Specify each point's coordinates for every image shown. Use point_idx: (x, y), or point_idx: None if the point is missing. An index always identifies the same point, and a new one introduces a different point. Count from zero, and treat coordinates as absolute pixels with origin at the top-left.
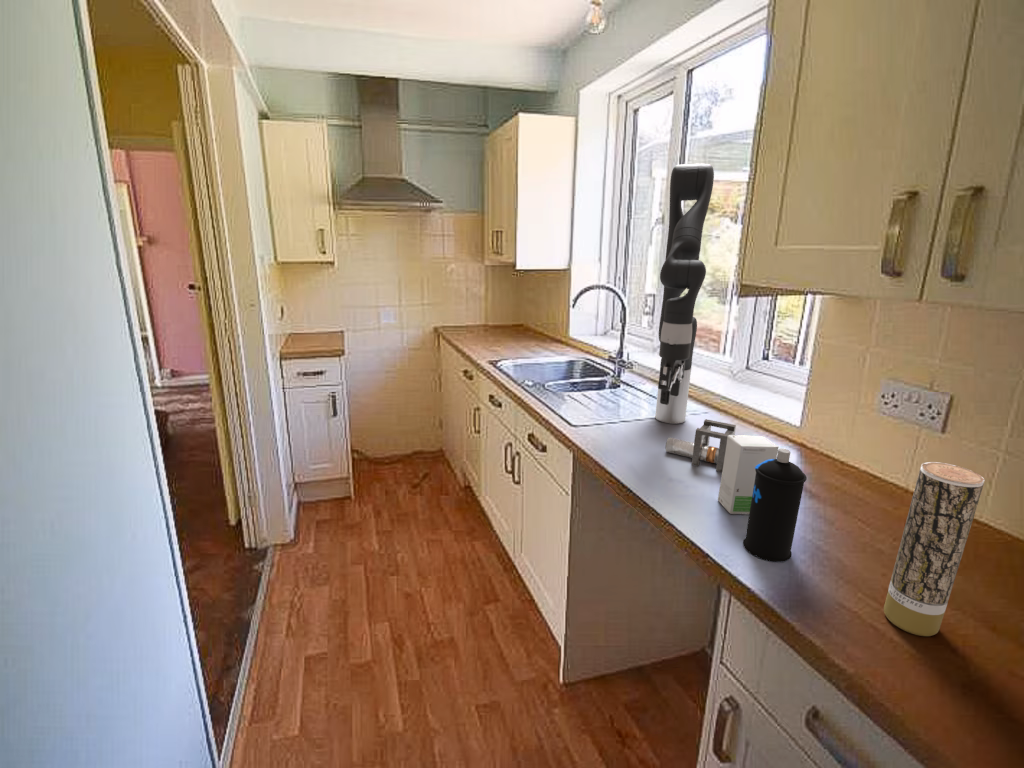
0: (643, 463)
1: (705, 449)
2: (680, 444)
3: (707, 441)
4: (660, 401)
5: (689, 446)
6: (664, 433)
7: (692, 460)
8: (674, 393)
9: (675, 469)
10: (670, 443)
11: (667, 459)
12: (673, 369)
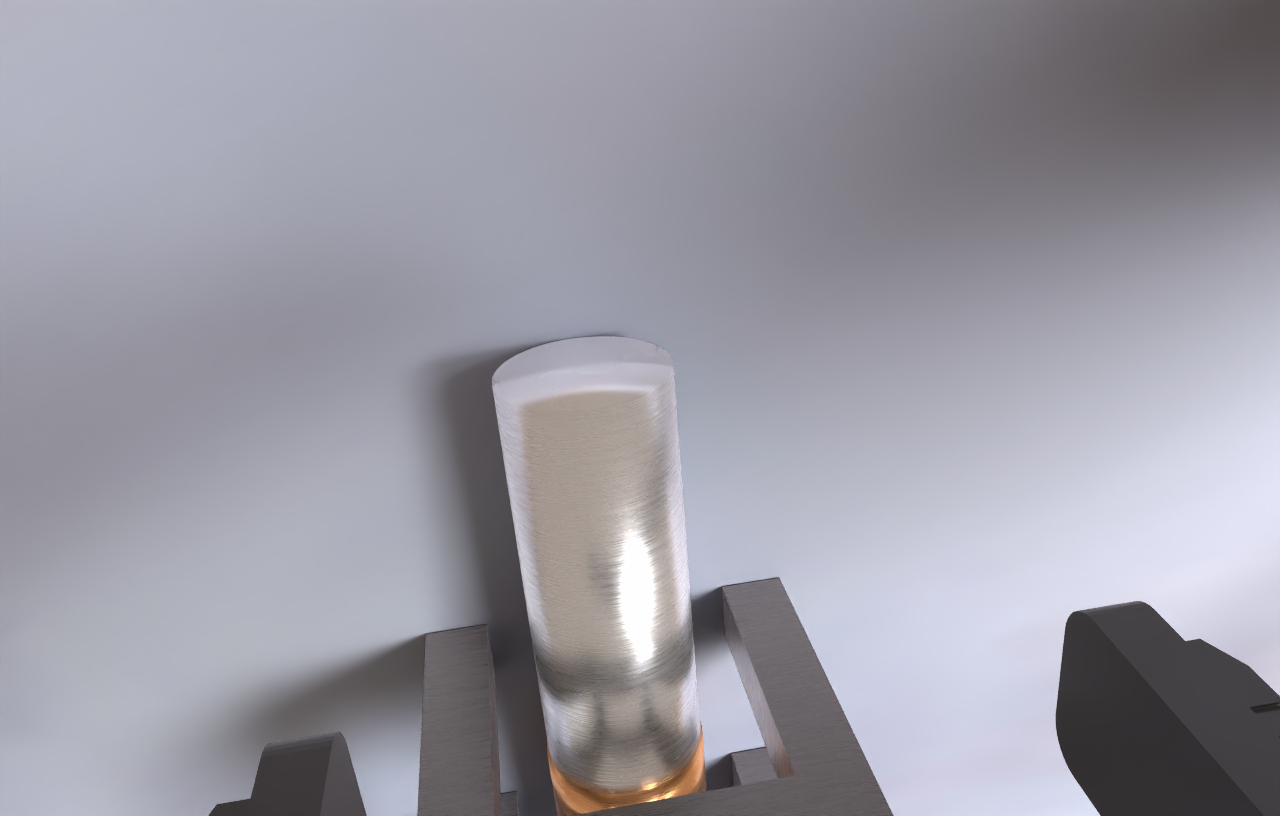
0: (45, 292)
1: (580, 771)
2: (542, 553)
3: (763, 734)
4: (259, 772)
5: (556, 637)
6: (1100, 66)
7: (426, 666)
8: (1088, 719)
9: (203, 582)
10: (517, 446)
11: (370, 429)
12: None
